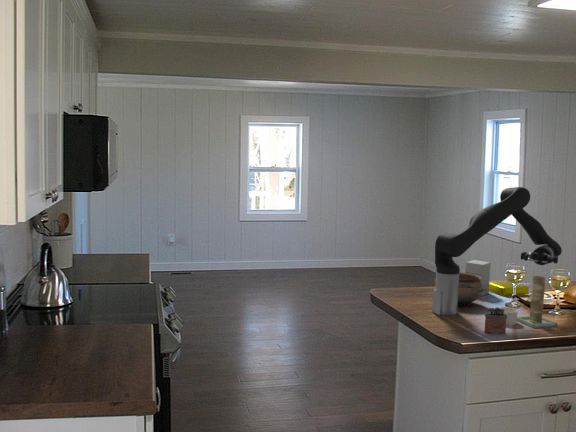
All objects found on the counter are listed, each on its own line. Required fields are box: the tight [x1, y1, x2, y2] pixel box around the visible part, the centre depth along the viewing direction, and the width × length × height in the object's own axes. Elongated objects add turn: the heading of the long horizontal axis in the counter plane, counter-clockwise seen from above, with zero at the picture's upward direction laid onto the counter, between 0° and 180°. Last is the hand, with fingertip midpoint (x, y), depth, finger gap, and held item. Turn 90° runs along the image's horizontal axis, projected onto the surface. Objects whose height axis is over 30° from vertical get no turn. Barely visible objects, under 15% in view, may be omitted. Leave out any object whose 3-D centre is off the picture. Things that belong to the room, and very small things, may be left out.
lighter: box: [483, 306, 507, 335], centre depth 238 cm, size 8×3×10 cm, turn 92°
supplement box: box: [464, 259, 491, 297], centre depth 303 cm, size 9×9×15 cm
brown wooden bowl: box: [433, 272, 488, 306], centre depth 283 cm, size 25×19×12 cm
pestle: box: [529, 275, 546, 324], centre depth 252 cm, size 5×5×18 cm
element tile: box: [489, 279, 530, 297], centre depth 308 cm, size 15×15×5 cm
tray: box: [517, 315, 558, 329], centre depth 253 cm, size 11×11×2 cm
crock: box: [498, 306, 519, 326], centre depth 253 cm, size 8×8×6 cm
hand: (536, 259), depth 261 cm, fingers open, 8 cm apart
